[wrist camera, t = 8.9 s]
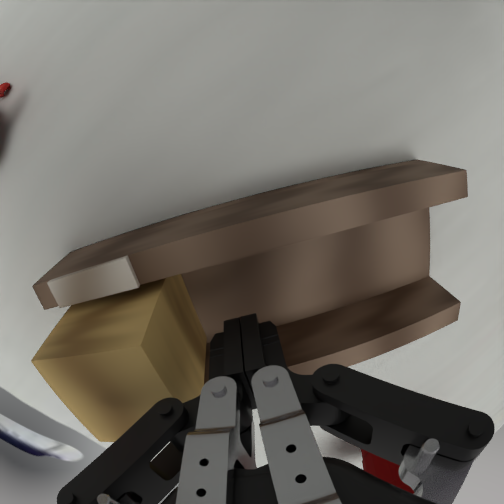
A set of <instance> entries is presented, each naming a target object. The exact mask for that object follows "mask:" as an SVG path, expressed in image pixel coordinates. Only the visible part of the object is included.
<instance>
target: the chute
mask: <svg viewBox="0 0 504 504" xmlns="http://www.w3.org/2000/svg"><path fill="white" fill-rule="evenodd" d="M465 197H468V192H467V172H466V170H464V169H460V168H455V167H451V166H446V165H442V164H437V163H432V162H427V161H422V160H411V161H406V162H400V163H395V164H389V165H384V166H379V167H374V168H369V169H364V170H359V171H354V172H349V173H345V174H340V175H335V176H331V177H326V178H322V179H317V180H313V181H309V182H305V183H300V184H296V185H292V186H288V187H284V188H280V189H276V190H272V191H268V192H264V193H260V194H256V195H252V196H248V197H245V198H241V199H237V200H233V201H230V202H226V203H223V204H219V205H215V206H212V207H208V208H205V209H201V210H198V211H194V212H191V213H188V214H184V215H181V216H178V217H174V218H171V219H168V220H165V221H161V222H158V223H155V224H152V225H149V226H145V227H142V228H139V229H136V230H133V231H130V232H127V233H124V234H121V235H118V236H115V237H112V238H109V239H106V240H103V241H100V242H98V243H95V244H92V245H89V246H86V247H83V248H81V249H78V250H75V251H72V252H70V253H69V254H68V255H66V256H65V257H64V258H63V259H62V260H61V261H60V262H58V263H57V264H56V265H55V266H54V267H53V268H52V269H50V270H49V271H48V272H47V273H46V274H45V275H44V276H43V277H42V278H41V279H39V280H38V281H37V282H36V283H35V284H34V285H33V286H32V287H33V289H34V291H35V293H36V295H37V296H38V298H39V300H40V302H41V304H42V306H43V308H44V310H45V309H49V308H53V307H57V306H59V307H60V308H62V307H66V306H70V305H74V304H78V303H82V302H85V301H89V300H93V299H97V298H101V297H105V296H109V295H113V294H116V293H120V292H124V291H128V290H132V289H136V288H139V286H140V285H141V284H145V283H148V282H152V281H156V280H160V279H164V278H167V277H171V276H175V275H179V274H181V276H182V278H183V281H184V283H185V286H186V288H187V291H188V293H189V296H190V298H191V301H192V303H193V306H194V308H195V311H196V313H197V315H198V318H199V320H200V323H201V325H202V327H203V330H204V332H205V334H206V337H207V342H206V357H205V374H204V385H205V383H207V382H208V381H209V360H210V342H211V340H212V338H213V337H214V335H215V334H216V333H221V332H224V321H225V320H229V319H233V318H237V317H241V316H245V315H249V314H253V313H256V314H257V317H258V321H259V323H262V322H266V321H271V322H272V323H273V324H274V325H275V326H276V328H277V332H278V335H279V339H280V343H281V347H282V351H283V355H284V358H285V362H286V365H287V367H288V369H289V370H290V371H292V372H294V373H296V374H300V375H313V373H314V372H315V371H316V370H317V369H318V368H320V367H322V366H324V365H327V364H340V365H343V366H345V367H348V366H351V365H354V364H357V363H360V362H362V361H365V360H368V359H371V358H373V357H376V356H379V355H381V354H384V353H386V352H389V351H391V350H394V349H396V348H399V347H401V346H403V345H406V344H408V343H410V342H413V341H415V340H417V339H419V338H422V337H424V336H426V335H428V334H430V333H432V332H435V331H437V330H439V329H441V328H443V327H445V326H447V325H449V324H451V323H453V322H455V321H457V320H458V315H459V309H460V303H461V302H460V301H459V300H457V299H456V298H455V297H454V296H453V295H452V294H450V293H449V292H448V291H447V290H446V289H444V288H443V287H442V286H441V285H439V284H438V283H437V282H436V281H434V280H433V279H432V278H431V277H429V267H430V217H429V207H432V206H436V205H439V204H443V203H447V202H450V201H454V200H458V199H461V198H465Z"/></svg>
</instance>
